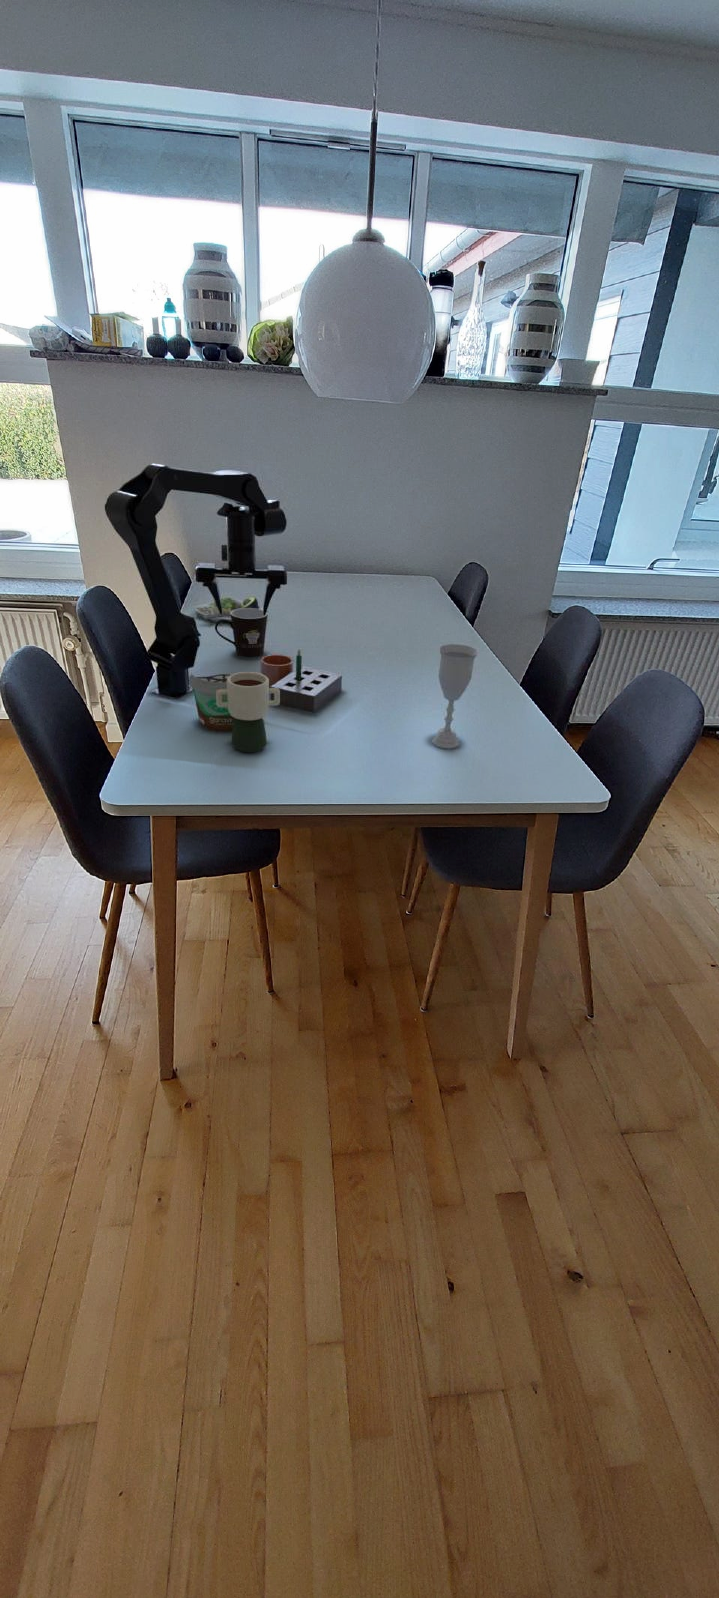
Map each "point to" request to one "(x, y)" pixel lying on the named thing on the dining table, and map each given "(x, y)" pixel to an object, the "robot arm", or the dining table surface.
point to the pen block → (308, 689)
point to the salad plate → (225, 608)
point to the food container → (211, 702)
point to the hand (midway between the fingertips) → (242, 614)
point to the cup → (276, 667)
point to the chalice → (453, 685)
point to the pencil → (298, 665)
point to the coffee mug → (247, 631)
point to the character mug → (248, 708)
